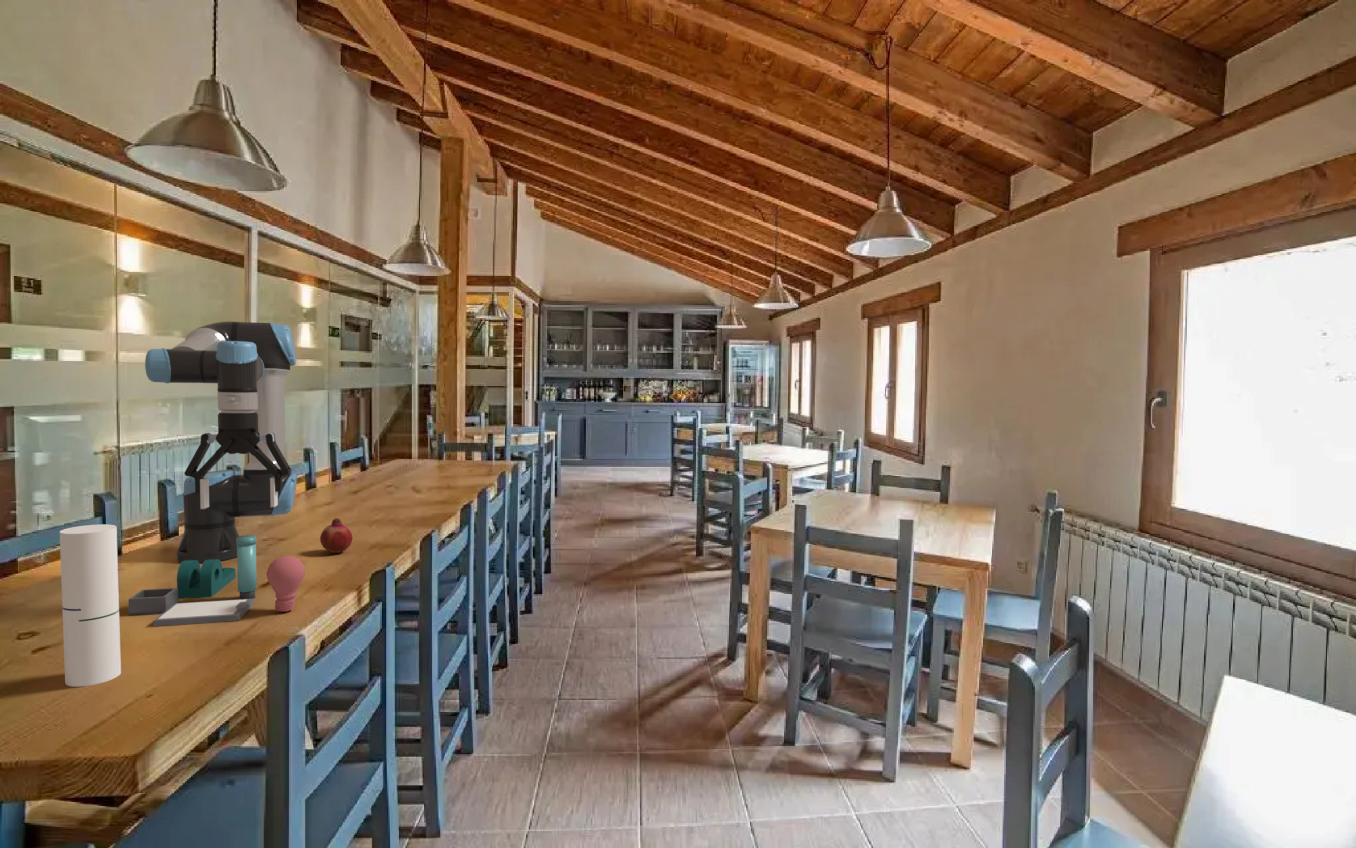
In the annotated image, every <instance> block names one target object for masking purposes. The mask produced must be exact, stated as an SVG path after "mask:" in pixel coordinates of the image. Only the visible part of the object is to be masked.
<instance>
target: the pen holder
mask: <svg viewBox="0 0 1356 848" xmlns="http://www.w3.org/2000/svg"><path fill="white" fill-rule="evenodd" d="M175 603H179V599H178V588H177V587H170V588H167V587H165V588H151V589H141V590H140V591H138V592H137V593H135V594H134V595H132V596H131V597H129V598H128V616H130V617H132V616H142V615H143V616H145V615H158V614H159V615H161V614H162V613H163V612H165V611H166V610H167V609H168V608H170V607H171V606H172V605H174V604H175Z"/></svg>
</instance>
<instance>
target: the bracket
mask: <svg viewBox="0 0 1356 848" xmlns="http://www.w3.org/2000/svg"><path fill="white" fill-rule="evenodd" d="M176 574H177V575H176V588H178V600H179V599H198V598H199V599H200V598H212V597H214V596H215V595H216V594H218V593H219V592H220V591H221V590H222V589H224V588H225V587H226V586H228V585H229V584H230V583H231V582H233V581H235V579H237V578H236V576H237V575H236V574H237V573H236V568H233V567H223V564H222V560H221V561H220V560H219V559H214V560H205V561H204V562H203V563H201V564H200V563H199V562H198V561H197V560H188V561H183V562H181V563H180V564H179V565H178V569H177V573H176Z"/></svg>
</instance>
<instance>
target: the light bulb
mask: <svg viewBox="0 0 1356 848" xmlns="http://www.w3.org/2000/svg"><path fill="white" fill-rule="evenodd" d="M267 567H268V568H267V570H266V579H267V581H268V583H269V585H270V587H271V588H272V589H273V591H274V592H275V601H274V603H275V604H274V609H275V611H277V612H285V613H286V612H288V611H291V610H293V609H295V603H296V597H297V595H298V589H299V588H300V586H301V584H302V582H303V580H304V577H305V574H306V568H305V565H304V563H303V562H302V560H301V559H299V558H298V557H295V556H293V555H282V556H280V557H277V558H275V559H274V560H273V561H272V562H271V563H270V564H269V566H267Z"/></svg>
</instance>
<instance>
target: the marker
mask: <svg viewBox="0 0 1356 848" xmlns="http://www.w3.org/2000/svg"><path fill="white" fill-rule="evenodd" d="M236 542H237V557H236V559H237V565H236V566H237V592H239V599H254V600H255V599H256V590H257V587H258V584H257V582H258V581H257V580H258V578H257V536H256V535H254V534H253V535H251V534H250V535H249V534H248V535H241V536H240V535H239V537H237V538H236Z"/></svg>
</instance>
